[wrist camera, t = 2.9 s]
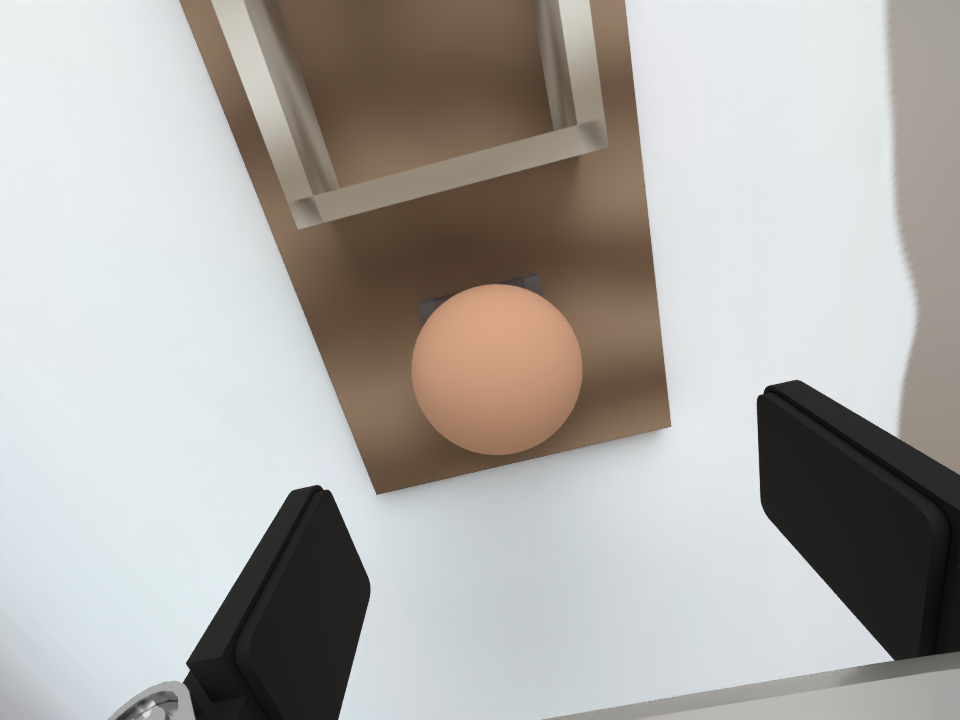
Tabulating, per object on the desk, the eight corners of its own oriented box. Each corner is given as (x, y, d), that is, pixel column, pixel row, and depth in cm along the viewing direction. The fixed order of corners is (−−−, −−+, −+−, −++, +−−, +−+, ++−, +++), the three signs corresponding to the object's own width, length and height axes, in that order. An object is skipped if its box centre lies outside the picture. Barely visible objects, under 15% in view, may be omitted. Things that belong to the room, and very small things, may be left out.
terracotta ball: (516, 428, 21) (536, 518, 15) (394, 369, 19) (367, 443, 14) (590, 314, 19) (644, 368, 13) (462, 242, 18) (462, 268, 12)
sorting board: (662, 416, 22) (710, 471, 18) (380, 481, 23) (361, 549, 18) (540, -637, 11) (585, -1123, 7) (17, -448, 12) (-222, -789, 8)
